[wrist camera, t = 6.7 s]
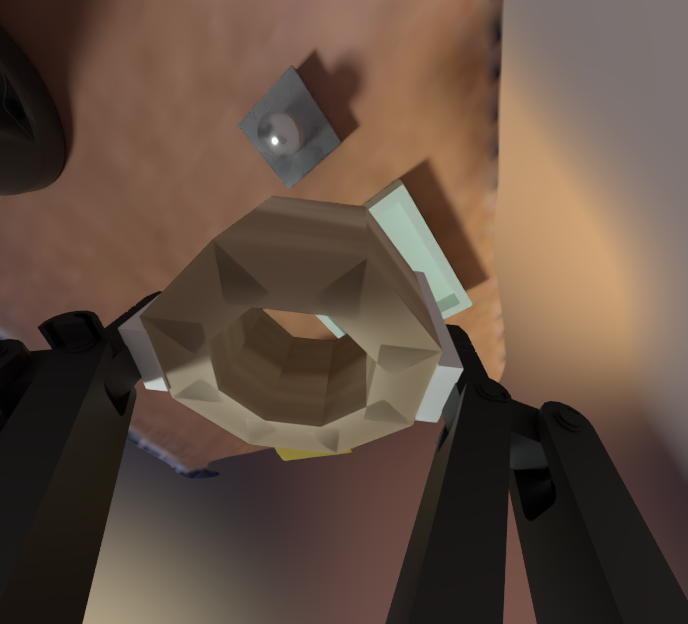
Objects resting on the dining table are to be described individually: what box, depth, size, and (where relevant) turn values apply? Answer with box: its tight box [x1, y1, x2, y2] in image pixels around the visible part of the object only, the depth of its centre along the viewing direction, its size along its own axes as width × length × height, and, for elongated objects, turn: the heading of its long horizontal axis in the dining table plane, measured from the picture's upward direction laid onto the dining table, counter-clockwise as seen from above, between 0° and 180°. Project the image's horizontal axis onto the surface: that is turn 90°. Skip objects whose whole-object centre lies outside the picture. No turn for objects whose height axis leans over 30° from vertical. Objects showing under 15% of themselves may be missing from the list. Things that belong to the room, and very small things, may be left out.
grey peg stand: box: [238, 65, 342, 189], centre depth 21 cm, size 6×6×6 cm
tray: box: [316, 179, 473, 338], centre depth 30 cm, size 15×15×3 cm
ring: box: [139, 196, 443, 454], centre depth 12 cm, size 11×9×5 cm
